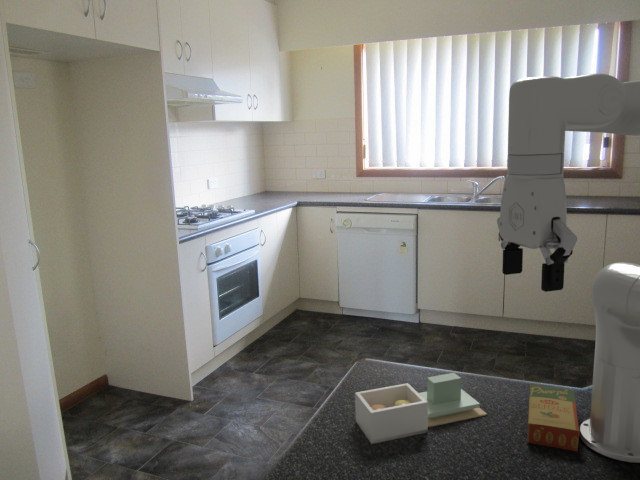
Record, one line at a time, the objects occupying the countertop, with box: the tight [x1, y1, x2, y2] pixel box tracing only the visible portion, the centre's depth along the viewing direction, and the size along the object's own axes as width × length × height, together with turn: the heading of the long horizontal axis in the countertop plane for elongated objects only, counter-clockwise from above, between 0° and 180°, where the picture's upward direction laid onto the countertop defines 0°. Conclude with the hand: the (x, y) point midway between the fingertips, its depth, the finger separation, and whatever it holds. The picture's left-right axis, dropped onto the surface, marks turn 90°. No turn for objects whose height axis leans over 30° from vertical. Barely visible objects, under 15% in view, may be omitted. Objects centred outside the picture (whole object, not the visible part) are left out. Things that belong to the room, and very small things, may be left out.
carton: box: [526, 384, 580, 452], centre depth 98 cm, size 8×16×4 cm, turn 158°
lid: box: [418, 372, 481, 418], centre depth 104 cm, size 11×8×6 cm
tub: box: [354, 382, 429, 445], centre depth 98 cm, size 11×8×6 cm
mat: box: [428, 407, 488, 428], centre depth 105 cm, size 13×10×1 cm
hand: (531, 281), depth 79 cm, fingers open, 9 cm apart
